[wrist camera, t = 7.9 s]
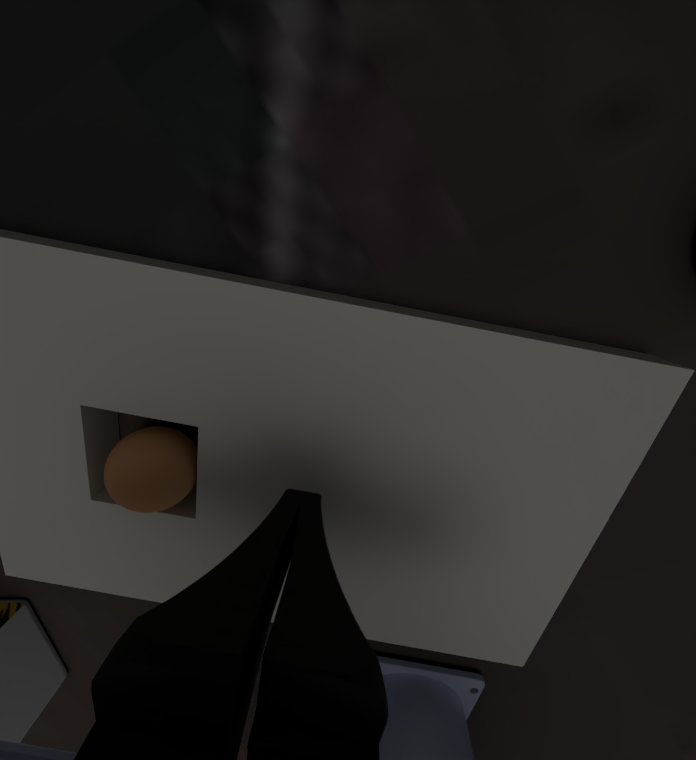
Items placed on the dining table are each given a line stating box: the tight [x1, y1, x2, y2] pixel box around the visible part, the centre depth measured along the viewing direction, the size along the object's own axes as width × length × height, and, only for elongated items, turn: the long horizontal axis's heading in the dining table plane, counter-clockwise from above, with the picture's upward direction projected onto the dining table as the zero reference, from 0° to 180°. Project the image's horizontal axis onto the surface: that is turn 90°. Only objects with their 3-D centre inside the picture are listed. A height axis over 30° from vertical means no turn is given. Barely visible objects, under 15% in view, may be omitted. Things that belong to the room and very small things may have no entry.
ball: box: [104, 426, 198, 513], centre depth 14 cm, size 4×4×4 cm
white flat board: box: [0, 229, 694, 667], centre depth 15 cm, size 26×16×2 cm, turn 80°
